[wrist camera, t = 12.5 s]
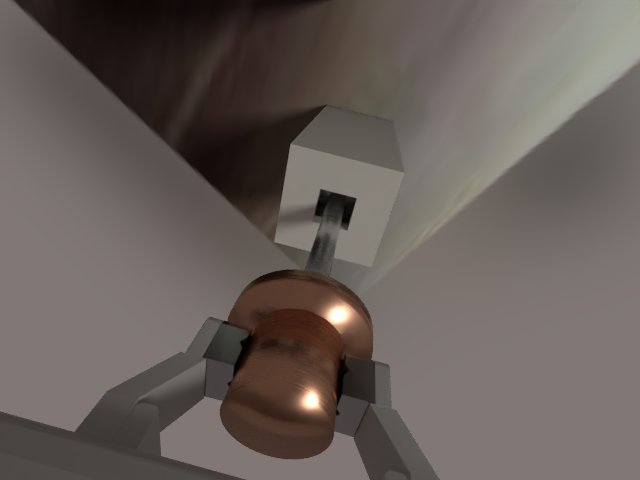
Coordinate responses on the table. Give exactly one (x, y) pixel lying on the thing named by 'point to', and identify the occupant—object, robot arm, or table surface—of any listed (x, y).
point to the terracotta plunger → (296, 348)
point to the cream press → (342, 181)
